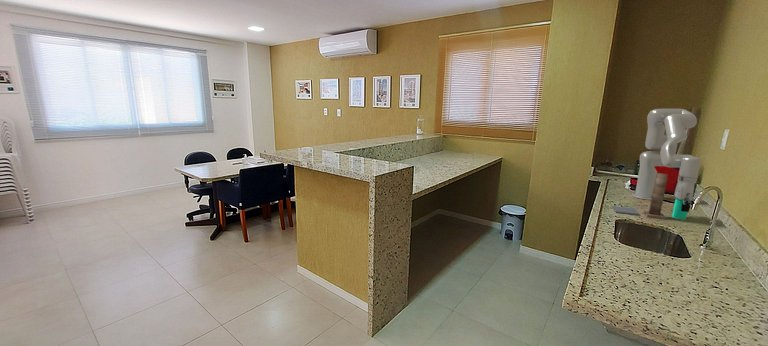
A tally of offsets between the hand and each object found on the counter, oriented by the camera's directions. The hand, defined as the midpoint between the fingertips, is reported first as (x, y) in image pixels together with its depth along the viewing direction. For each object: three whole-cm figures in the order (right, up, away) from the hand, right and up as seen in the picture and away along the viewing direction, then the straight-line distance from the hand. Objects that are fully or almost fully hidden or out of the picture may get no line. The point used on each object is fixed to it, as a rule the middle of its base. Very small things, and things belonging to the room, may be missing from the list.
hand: (681, 208), depth 176 cm
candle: (0, -5, +2) cm, 6 cm away
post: (-12, -5, +4) cm, 13 cm away
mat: (-22, -3, +12) cm, 26 cm away
